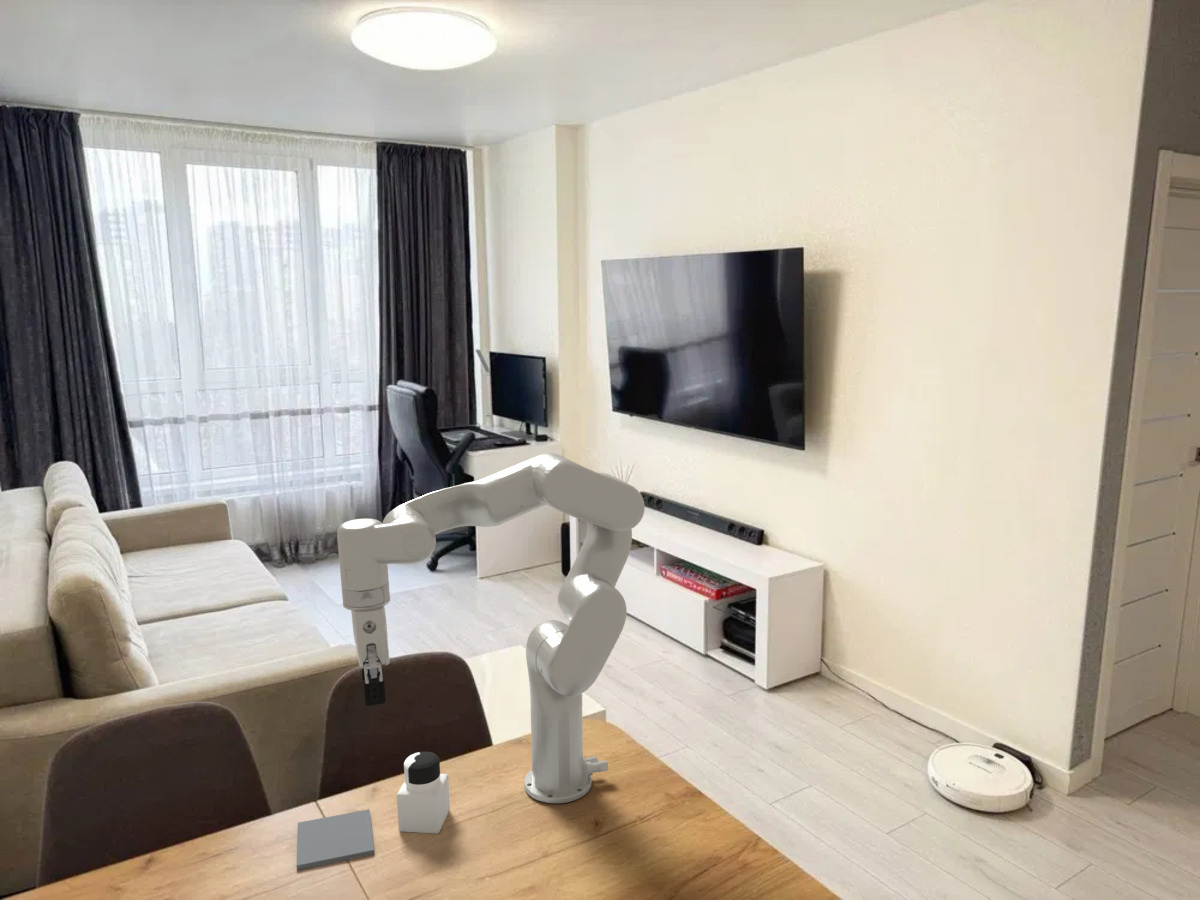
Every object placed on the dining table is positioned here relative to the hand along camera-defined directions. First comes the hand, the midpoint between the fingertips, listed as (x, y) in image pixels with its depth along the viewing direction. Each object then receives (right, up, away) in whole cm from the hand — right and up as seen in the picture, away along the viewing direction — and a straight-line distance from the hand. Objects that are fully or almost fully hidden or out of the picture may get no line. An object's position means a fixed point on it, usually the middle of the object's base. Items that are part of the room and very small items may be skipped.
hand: (373, 691), depth 143 cm
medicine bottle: (+7, -24, +5) cm, 26 cm away
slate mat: (-7, -25, 0) cm, 26 cm away
